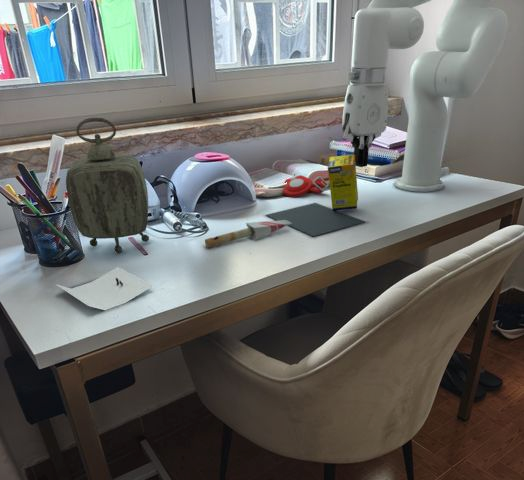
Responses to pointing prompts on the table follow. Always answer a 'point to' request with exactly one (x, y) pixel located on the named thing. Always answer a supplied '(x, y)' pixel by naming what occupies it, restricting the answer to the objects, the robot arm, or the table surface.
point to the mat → (315, 219)
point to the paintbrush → (248, 232)
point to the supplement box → (343, 182)
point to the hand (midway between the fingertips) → (359, 165)
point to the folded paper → (109, 289)
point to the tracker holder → (303, 186)
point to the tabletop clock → (107, 192)
